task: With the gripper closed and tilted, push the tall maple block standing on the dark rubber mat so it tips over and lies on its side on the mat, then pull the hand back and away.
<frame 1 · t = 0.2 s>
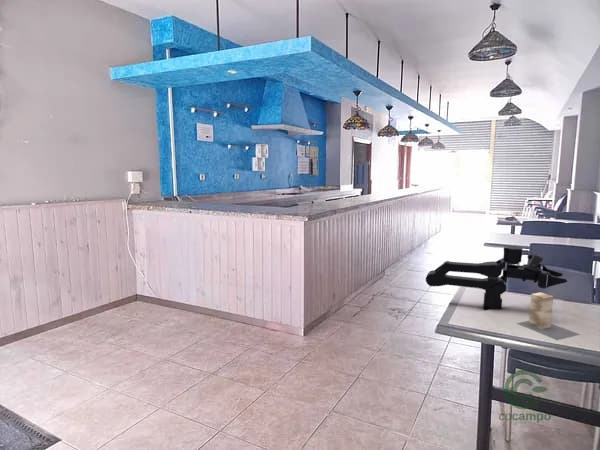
hand: (564, 277, 156), 16 cm above the table, tool horizontal, fingers open, 9 cm apart
maple block: (539, 325, 148), point 1 cm above the table, touching rubber mat
rubber mat: (547, 330, 146), on the table
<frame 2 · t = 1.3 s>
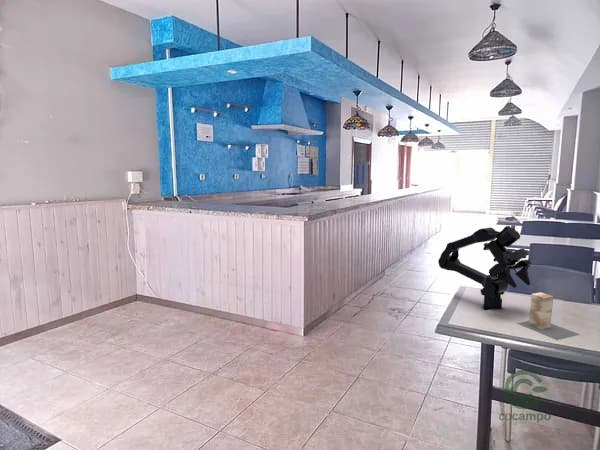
hand: (522, 286, 154), 14 cm above the table, tool tilted 45°, fingers open, 7 cm apart
nothing on the table moved.
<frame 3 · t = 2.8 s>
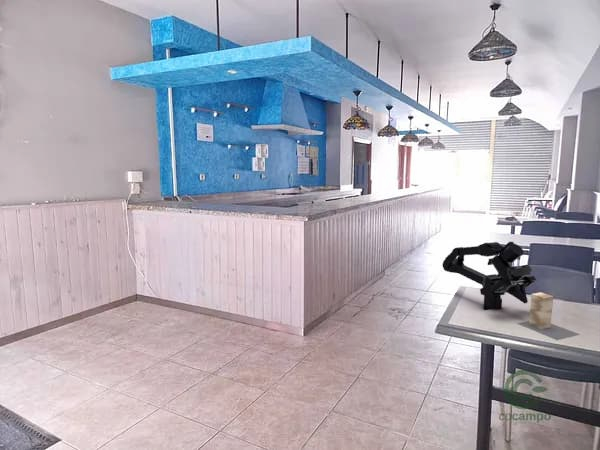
hand: (526, 302, 153), 8 cm above the table, tool tilted 45°, fingers closed
nothing on the table moved.
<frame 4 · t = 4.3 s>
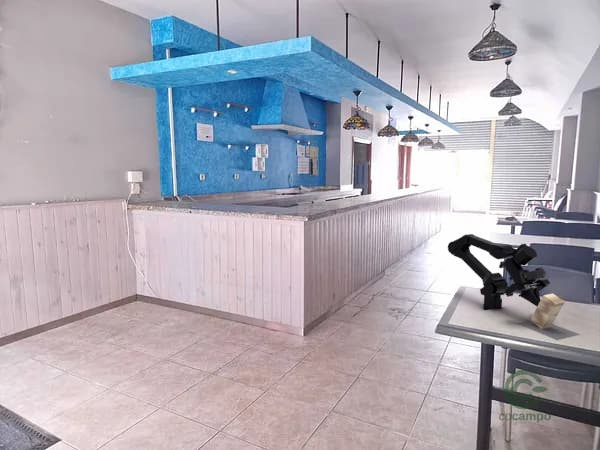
hand: (540, 307, 147), 8 cm above the table, tool tilted 45°, fingers closed
maple block: (540, 323, 148), point 2 cm above the table, tilted 21°, touching rubber mat
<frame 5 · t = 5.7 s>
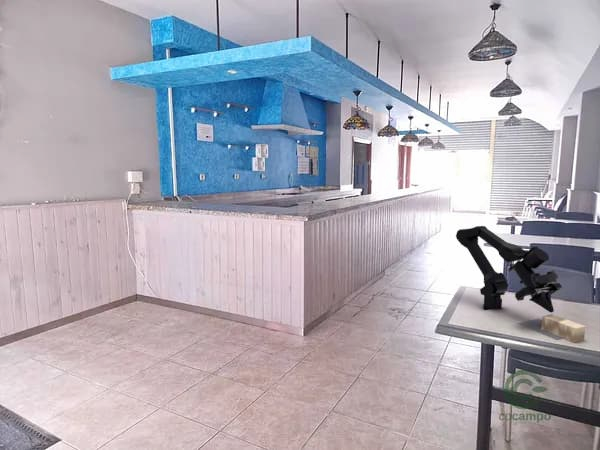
hand: (552, 311, 143), 8 cm above the table, tool tilted 45°, fingers closed
maple block: (546, 321, 146), point 3 cm above the table, tilted 90°, touching rubber mat
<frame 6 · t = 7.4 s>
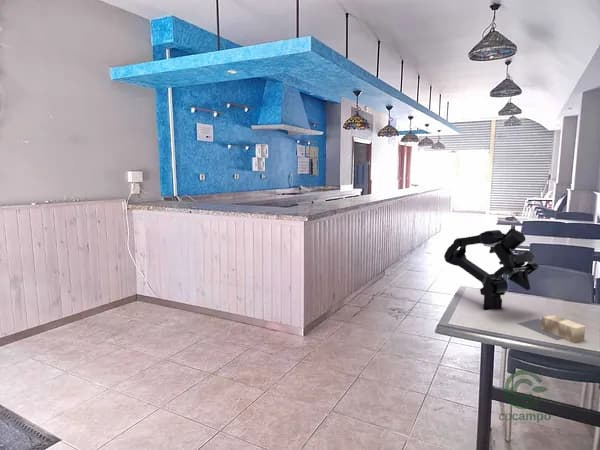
hand: (529, 289, 151), 13 cm above the table, tool tilted 45°, fingers closed
nothing on the table moved.
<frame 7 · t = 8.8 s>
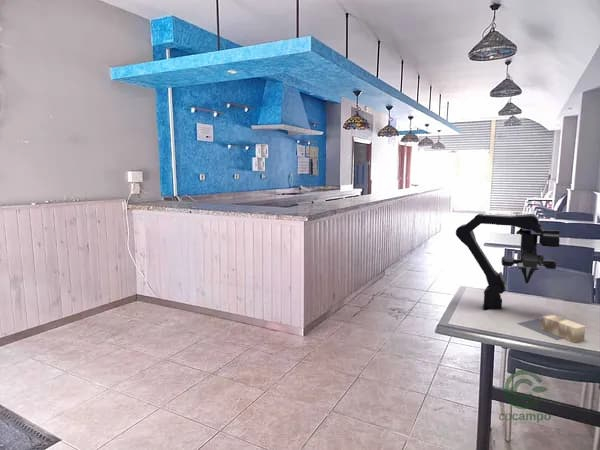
hand: (526, 283, 160), 13 cm above the table, tool pointing down, fingers closed
nothing on the table moved.
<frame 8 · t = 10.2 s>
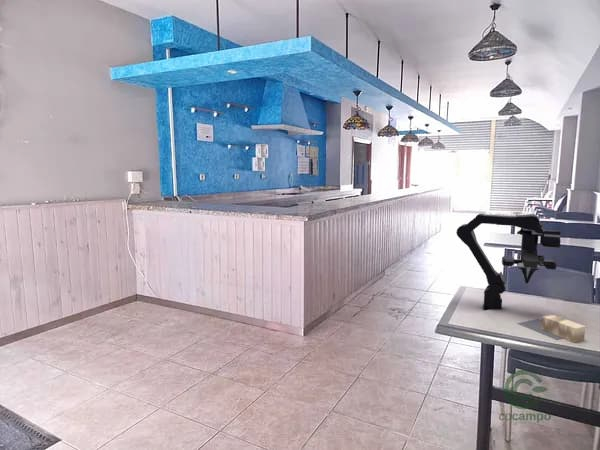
hand: (526, 283, 160), 13 cm above the table, tool pointing down, fingers closed
nothing on the table moved.
at the end: maple block tilted 90°; maple block 0.5 cm from the rubber mat (horizontally) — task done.
